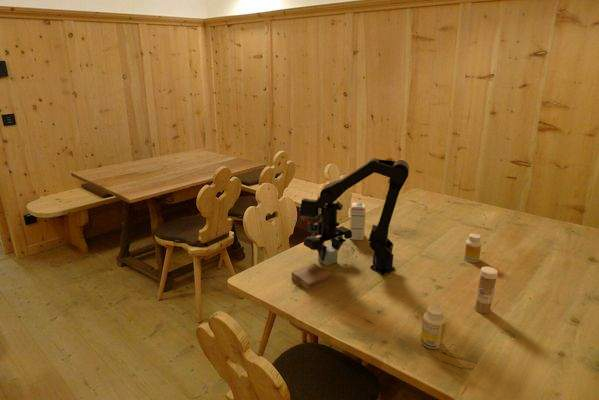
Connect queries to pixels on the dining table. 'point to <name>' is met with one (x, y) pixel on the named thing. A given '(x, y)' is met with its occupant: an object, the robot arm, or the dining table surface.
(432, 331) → the supplement bottle
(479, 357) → the dining table surface
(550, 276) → the dining table surface
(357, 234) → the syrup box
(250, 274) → the dining table surface
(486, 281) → the sprinkles bottle
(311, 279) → the walnut block
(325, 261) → the gray cube
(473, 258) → the supplement bottle
